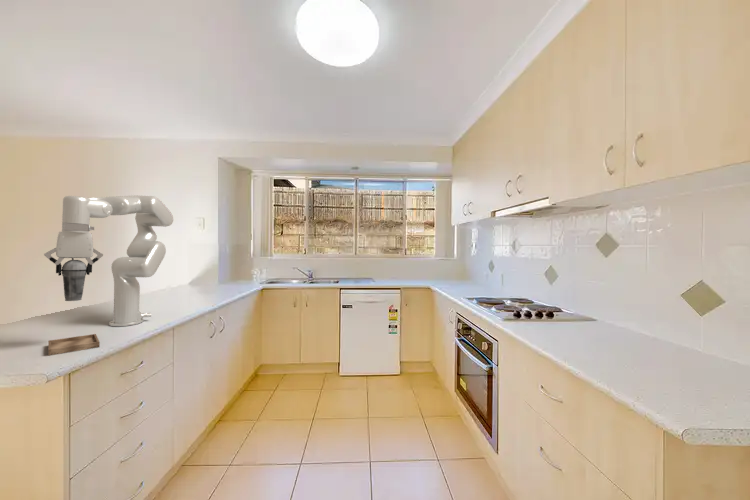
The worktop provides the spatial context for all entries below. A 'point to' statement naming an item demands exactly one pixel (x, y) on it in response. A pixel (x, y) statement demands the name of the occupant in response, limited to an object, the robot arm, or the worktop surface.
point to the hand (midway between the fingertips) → (74, 274)
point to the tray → (72, 344)
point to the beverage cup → (73, 279)
